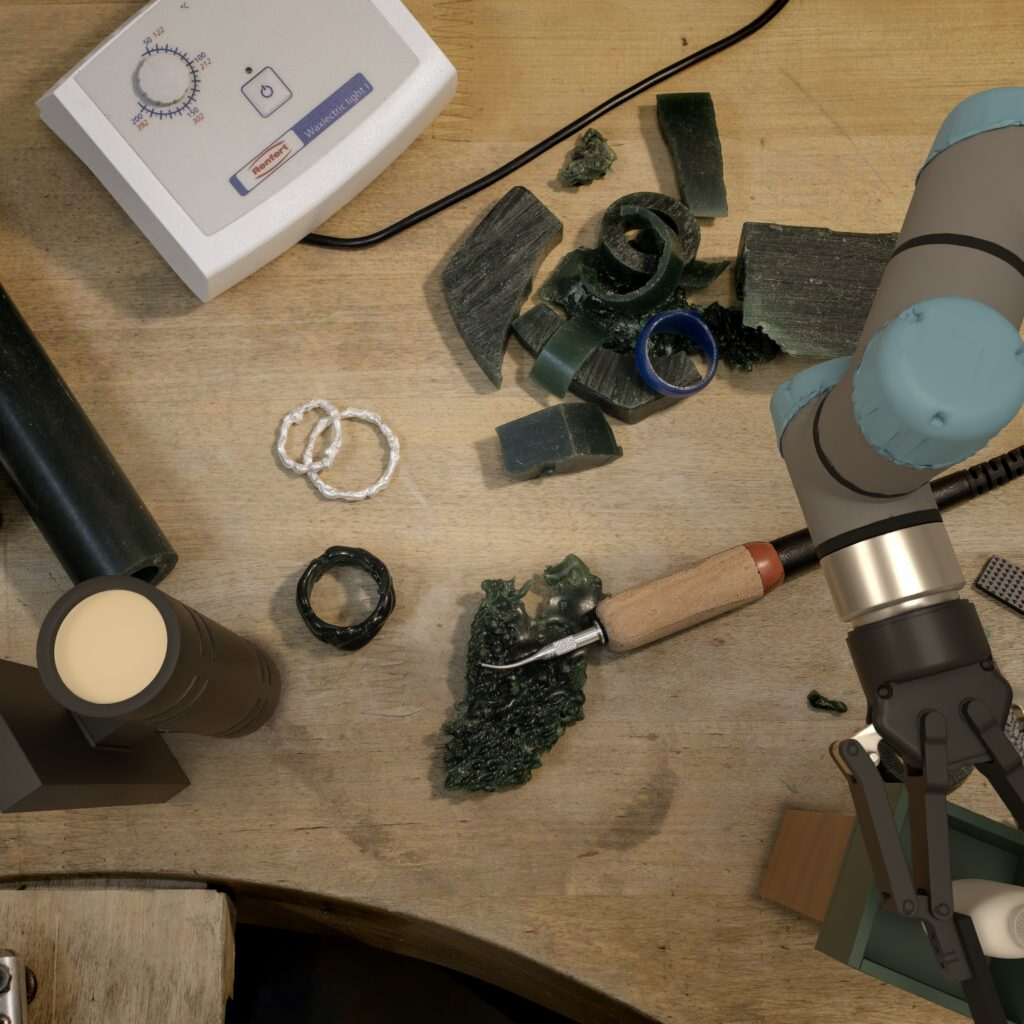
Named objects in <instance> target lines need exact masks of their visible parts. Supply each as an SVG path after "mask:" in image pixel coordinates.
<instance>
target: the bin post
mask: <svg viewBox="0 0 1024 1024" xmlns="http://www.w3.org/2000/svg"><path fill="white" fill-rule="evenodd" d="M855 818H856V815H854V814H843V813H831V812H821V811H811V810H801V809H799V810H798V809H788V808H787V809H786V811H785V813H784V817H783V820H782V823H781V826H780V829H779V831H778V832H779V833H778V835H777V838H776V842H775V843H774V848H773V850H772V854H771V855H770V859H769V863H768V865H767V867H766V871H765V875H764V877H763V881H762V883H761V887H760V889H759V892H758V896H761V897H763V898H764V899H767V900H770V901H772V902H775V903H776V904H779V905H782V906H783V907H786V908H788V909H791V910H793V911H795V912H798V913H800V914H803V915H805V916H807V917H809V918H812V919H814V920H816V921H819V922H821V923H823V920H824V916H825V913H826V910H827V907H828V904H829V900H830V897H831V894H832V891H833V888H834V885H835V881H836V878H837V875H838V872H839V869H840V866H841V862H842V859H843V856H844V853H845V850H846V846H847V843H848V840H849V837H850V834H851V831H852V827H853V824H854V821H855Z"/></svg>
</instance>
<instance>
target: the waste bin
mask: <svg viewBox="0 0 1024 1024" xmlns="http://www.w3.org/2000/svg"><path fill="white" fill-rule="evenodd" d="M883 783H884V786H885V789H886V792H887V796H888V799H889V803H890V806H891V810H892V813H893V817H894V820H895V824H896V827H897V831H898V834H899V838H900V841H901V845H902V848H903V851H904V855H905V858H906V862H907V865H908V869H909V872H910V876H911V879H912V883H913V866H912V850H911V833H910V816H909V800H908V791H907V789H906V788H905V784H904V782H883ZM946 802H947V816H948V831H949V845H950V860H951V874H952V881H954V880H960V879H984V880H990V881H995V882H1000V883H1005V884H1010V885H1015V886H1020V887H1024V831H1023V830H1018V829H1017V828H1014V827H1012V826H1009V825H1007V824H1004V823H1002V822H1000V821H997V820H995V819H993V818H990V817H987V816H986V815H984V814H980V813H978V812H975V811H973V810H971V809H969V808H966V807H963V806H961V805H959V804H956V803H954V802H951V801H949V800H946ZM855 816H856V818H855V821H854V824H853V827H852V831H851V834H850V837H849V840H848V843H847V846H846V850H845V853H844V856H843V859H842V862H841V866H840V869H839V872H838V875H837V878H836V881H835V885H834V888H833V891H832V894H831V897H830V900H829V904H828V907H827V910H826V913H825V916H824V920H823V922H821V926H820V929H819V933H818V936H817V939H816V941H815V945H814V950H816V951H818V952H820V953H822V954H823V955H826V956H827V957H829V958H832V959H833V960H835V961H837V962H839V963H841V964H843V965H845V966H847V967H849V968H851V969H854V970H856V971H858V972H860V973H863V974H865V975H868V976H870V977H872V978H874V979H877V980H878V981H882V982H884V983H886V984H889V985H891V986H893V987H896V988H898V989H900V990H903V991H905V992H907V993H910V994H912V995H914V996H916V997H919V998H922V999H923V1000H926V1001H928V1002H930V1003H932V1004H935V1005H938V1006H939V1007H942V1008H945V1009H946V1010H949V1011H951V1012H954V1013H956V1014H958V1015H961V1016H964V1017H965V1018H968V1019H969V1020H972V1021H973V1018H972V1015H971V1012H970V1009H969V1006H968V1003H967V1000H966V997H965V994H964V991H963V988H962V985H961V982H958V983H956V982H954V981H951V980H949V979H947V978H945V976H944V975H943V974H942V973H941V971H940V970H939V967H938V964H937V961H936V958H935V955H934V951H933V949H932V946H931V943H930V940H929V937H928V935H927V934H926V933H925V931H924V929H923V925H922V922H921V920H920V919H919V918H906V917H903V916H900V915H897V914H894V913H891V912H889V911H887V910H886V909H884V907H883V905H882V903H881V899H880V896H879V892H878V889H877V885H876V882H875V878H874V874H873V871H872V867H871V864H870V860H869V857H868V853H867V849H866V846H865V842H864V839H863V835H862V832H861V828H860V824H859V821H858V817H857V814H856V815H855ZM913 886H914V883H913ZM984 956H985V959H986V962H987V964H988V967H989V970H990V973H991V976H992V979H993V982H994V985H995V988H996V991H997V993H998V996H999V999H1000V1002H1001V1005H1002V1008H1003V1011H1004V1014H1005V1017H1006V1020H1007V1022H1008V1024H1024V958H1013V959H1010V958H997V957H991V956H986V955H984Z"/></svg>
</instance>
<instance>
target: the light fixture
mask: <svg viewBox="0 0 1024 1024" xmlns="http://www.w3.org/2000/svg"><path fill="white" fill-rule="evenodd" d="M35 658H36V666H37V667H36V666H32V665H28V664H24V663H20V662H17V661H16V662H15V661H12V660H9V659H8V660H7V659H4V658H0V813H1V814H2V815H4V814H5V815H6V814H20V813H21V814H22V813H35V812H49V811H65V810H80V809H83V810H84V809H97V808H113V807H127V806H129V807H130V806H141V805H142V806H143V805H156V804H157V805H159V804H166V803H167V802H168V801H170V800H171V799H172V798H174V797H175V796H177V795H178V794H180V793H182V792H183V791H185V789H187V788H188V787H190V786H191V785H192V783H191V781H190V779H189V778H188V776H187V775H186V772H185V771H184V769H183V768H182V767H181V765H180V763H179V761H178V760H177V759H176V757H175V755H174V753H173V752H172V750H171V749H170V747H169V745H168V744H167V742H166V740H165V739H164V738H163V736H162V734H161V733H160V731H159V729H163V730H164V729H165V730H169V731H175V732H181V733H187V734H194V735H199V736H200V735H201V736H206V737H212V738H217V739H226V740H228V739H229V740H231V739H239V738H244V737H246V736H249V735H251V734H253V733H255V732H256V731H258V730H260V729H261V728H262V727H263V726H264V725H265V724H266V723H267V722H268V721H269V720H270V719H271V717H272V716H273V715H274V714H275V711H276V709H277V707H278V706H279V702H280V698H281V693H282V680H281V674H280V671H279V668H278V666H277V664H276V662H275V661H274V660H273V658H272V657H271V656H270V654H269V653H268V652H267V651H265V650H264V649H263V648H262V647H260V646H258V645H256V644H255V643H253V642H251V641H250V640H248V639H246V638H244V637H243V636H241V635H239V634H237V633H235V632H234V631H232V630H231V629H229V628H227V627H225V626H224V625H222V624H221V623H218V622H217V621H215V620H213V619H212V618H209V617H208V616H206V615H205V614H203V613H201V612H199V611H198V610H196V609H194V608H192V607H191V606H189V605H187V604H185V603H184V602H182V601H180V600H179V599H177V598H175V597H173V596H171V595H170V594H168V593H167V592H165V591H162V589H159V588H157V587H156V586H155V585H153V584H151V583H149V582H147V581H145V580H143V579H141V578H139V577H134V576H131V575H125V574H106V575H101V576H99V575H98V576H95V577H92V578H89V579H87V580H84V581H82V582H79V583H78V584H76V585H75V586H73V587H71V588H70V589H68V590H67V591H66V592H65V593H63V594H62V595H61V596H60V597H59V598H58V599H57V600H56V602H54V604H53V605H52V606H51V607H50V609H49V610H48V612H47V614H46V615H45V617H44V619H43V621H42V624H41V626H40V628H39V632H38V634H37V639H36V648H35Z"/></svg>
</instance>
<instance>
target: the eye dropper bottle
mask: <svg viewBox="0 0 1024 1024" xmlns="http://www.w3.org/2000/svg"><path fill="white" fill-rule="evenodd" d="M952 889H953V904H954V912H958V913H961V914H965V915H968V916H971V918H972V921H973V924H974V927H975V930H976V933H977V935H978V938H979V941H980V944H981V947H982V950H983V953H984V955H986V956H991V957H997V958H1010V959H1013V958H1024V887H1020V886H1015V885H1010V884H1005V883H1000V882H995V881H990V880H984V879H960V880H954V881H952ZM921 922H922V921H921ZM922 925H923V929H924V931H925V933H926V934H927V931H926V928H925V926H924V923H923V922H922ZM927 935H928V934H927Z"/></svg>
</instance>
